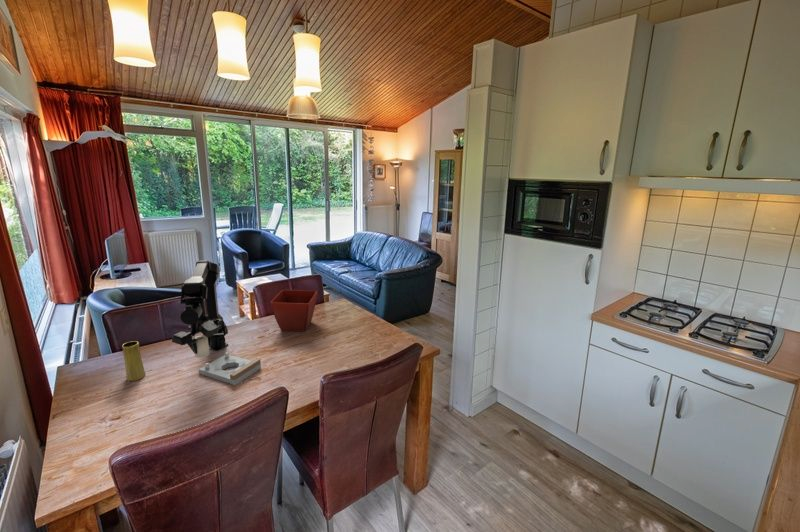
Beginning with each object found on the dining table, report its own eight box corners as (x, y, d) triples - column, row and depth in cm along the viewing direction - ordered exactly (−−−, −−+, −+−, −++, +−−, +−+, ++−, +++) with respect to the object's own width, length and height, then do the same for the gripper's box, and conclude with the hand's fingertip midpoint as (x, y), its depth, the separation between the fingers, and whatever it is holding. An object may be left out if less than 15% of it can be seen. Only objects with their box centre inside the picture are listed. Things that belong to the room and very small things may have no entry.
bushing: (192, 355, 145) (189, 339, 143) (203, 350, 149) (201, 333, 147) (201, 358, 143) (199, 341, 141) (212, 352, 147) (210, 336, 145)
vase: (149, 374, 150) (143, 341, 146) (134, 382, 144) (128, 348, 140) (138, 371, 152) (132, 339, 148) (122, 379, 146) (116, 346, 142)
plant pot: (309, 334, 188) (308, 303, 183) (272, 333, 188) (269, 302, 183) (318, 319, 206) (317, 290, 202) (283, 318, 206) (282, 289, 202)
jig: (199, 373, 151) (198, 364, 150) (226, 358, 164) (226, 349, 162) (234, 385, 144) (233, 375, 143) (261, 367, 157) (260, 359, 155)
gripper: (189, 327, 130) (195, 367, 134) (232, 309, 146) (236, 345, 151) (168, 320, 134) (174, 359, 139) (212, 304, 151) (216, 339, 155)
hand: (202, 350), depth 146 cm, fingers closed on bushing, 5 cm apart
